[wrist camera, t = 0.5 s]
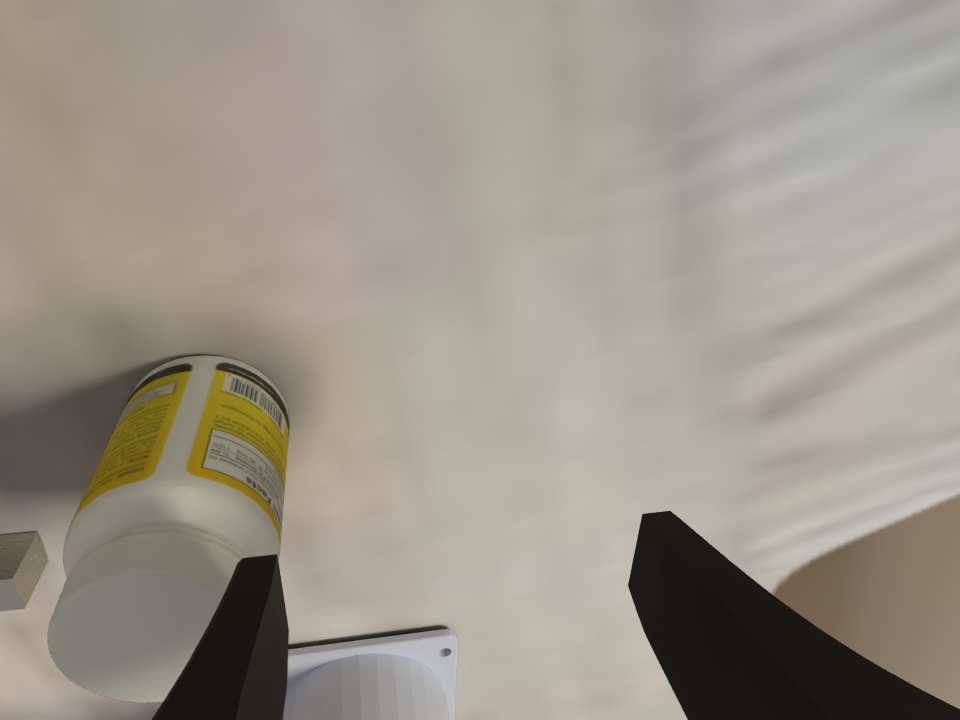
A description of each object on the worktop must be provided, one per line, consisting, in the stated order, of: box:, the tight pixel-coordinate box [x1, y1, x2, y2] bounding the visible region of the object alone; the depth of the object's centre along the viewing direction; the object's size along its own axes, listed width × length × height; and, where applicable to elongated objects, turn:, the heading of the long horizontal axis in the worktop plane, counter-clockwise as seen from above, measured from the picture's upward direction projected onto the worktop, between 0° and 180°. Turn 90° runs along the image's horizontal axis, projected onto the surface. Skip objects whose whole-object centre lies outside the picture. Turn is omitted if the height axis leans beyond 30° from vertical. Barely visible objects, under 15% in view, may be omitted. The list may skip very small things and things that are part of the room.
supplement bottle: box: [48, 355, 289, 702], centre depth 17 cm, size 5×5×8 cm
